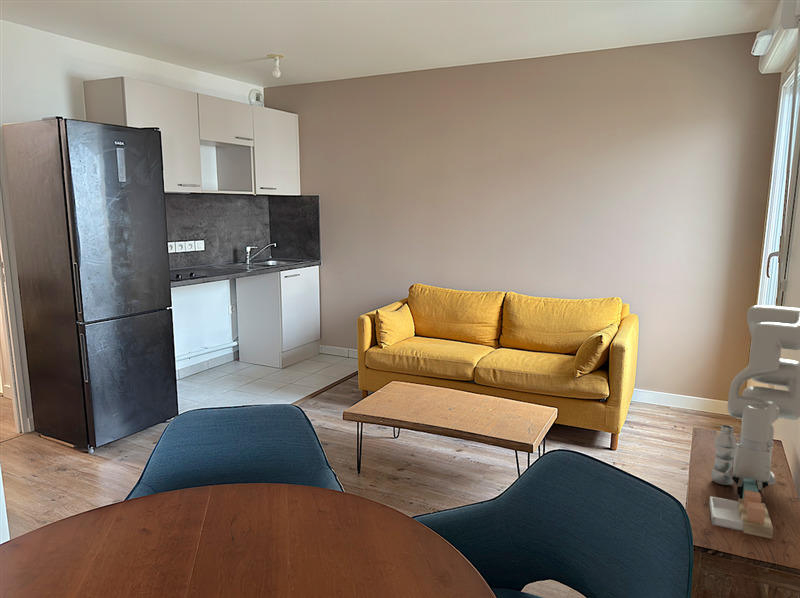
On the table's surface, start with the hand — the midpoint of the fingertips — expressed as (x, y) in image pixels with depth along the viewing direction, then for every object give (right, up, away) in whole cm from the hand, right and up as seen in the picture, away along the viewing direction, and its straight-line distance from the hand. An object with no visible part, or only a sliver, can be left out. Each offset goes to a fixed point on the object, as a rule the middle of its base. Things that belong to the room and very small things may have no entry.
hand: (748, 498), depth 182 cm
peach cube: (-8, 0, -17) cm, 19 cm away
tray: (-13, -2, -10) cm, 17 cm away
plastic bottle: (-2, +1, +12) cm, 12 cm away
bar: (0, -1, 0) cm, 1 cm away
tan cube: (-5, +1, -10) cm, 11 cm away
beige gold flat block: (-6, -3, -13) cm, 15 cm away
